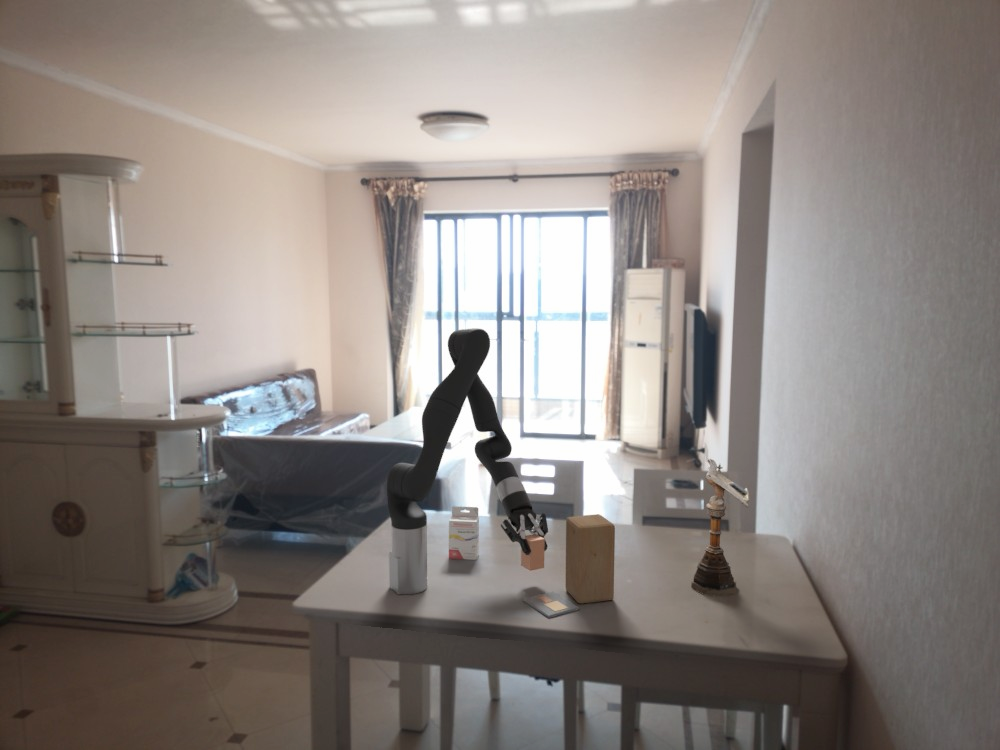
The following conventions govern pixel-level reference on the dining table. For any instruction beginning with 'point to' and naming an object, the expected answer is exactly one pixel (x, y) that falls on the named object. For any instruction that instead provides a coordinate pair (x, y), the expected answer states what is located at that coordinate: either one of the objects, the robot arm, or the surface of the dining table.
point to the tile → (551, 604)
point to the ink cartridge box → (464, 533)
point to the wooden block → (590, 558)
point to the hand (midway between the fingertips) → (536, 551)
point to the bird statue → (717, 538)
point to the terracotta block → (534, 553)
